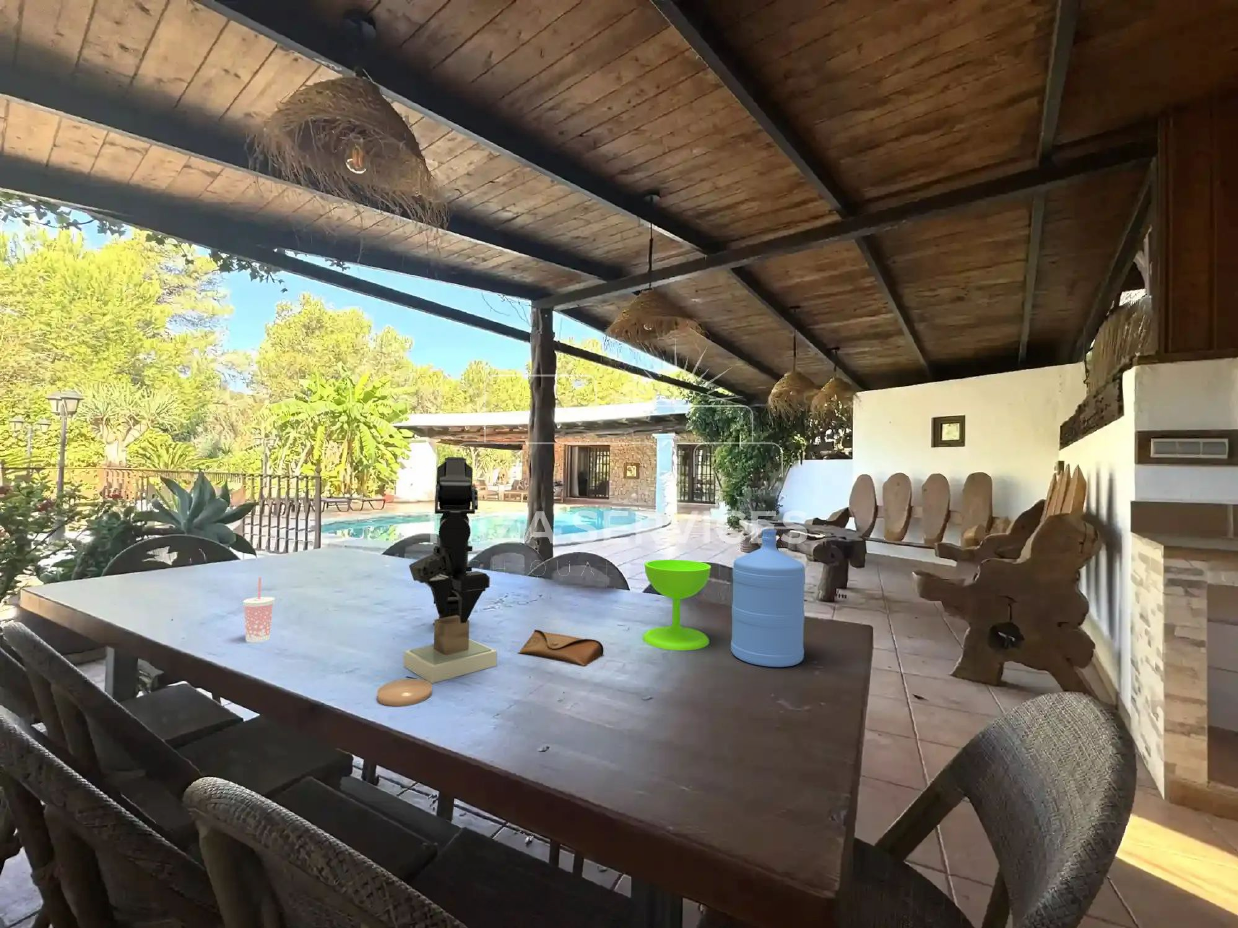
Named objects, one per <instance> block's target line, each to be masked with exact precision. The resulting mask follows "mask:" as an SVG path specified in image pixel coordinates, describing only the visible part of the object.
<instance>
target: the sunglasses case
mask: <svg viewBox="0 0 1238 928" xmlns="http://www.w3.org/2000/svg"><path fill="white" fill-rule="evenodd" d="M516 654H518V655H524V656H532V657H537V658H542V659H546V660H547V659H548V660H551V661H552V660H553V661H558V662H563V663H568V664H572V665H577V666H580V667H588V665H590V664H591V663H593V662H595V661H596V660H598V659H600V658H601V657H603V656H604V645H603V644H602V642H601V641H599V640H598V639H597V640H596V639H592V638H580V637H577V636H570V635H564V634H559V633H551V632H546V631H543V630H540V629H534V631H533V633H532V634H531V636H530V637H529V638H528V640H527V641H526V643H524V645H523V646H522V647H521V649H520V650H519V652H516Z"/></svg>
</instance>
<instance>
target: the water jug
mask: <svg viewBox="0 0 1238 928" xmlns="http://www.w3.org/2000/svg"><path fill="white" fill-rule="evenodd" d="M761 532H762V536H761V546H760V548H758V549H756V550H753V551H751V552H749V553H746V554H744V555H742V556H740V557H736V558H735V560H733V566H732V582H733V583H732V584H733V585H732V588H733V589H732V605H731V616H732V618H731V619H732V620H731V621H732V623H731V624H732V625H731V627H732V628H731V641H730V650H731V652H732V654H733V656H735V657H736V658H738V659H739V660H741V661H743V662H745V663H748V664H751V665H756V666H762V667H770V668H786V667H792V666H795V665H798V664H800V663H801V662H802V661H803V660H804V657H805V656H804V655H805V649H804V623H805V615H806V613H805V585H806V572H805V571H806V567H805V564H804V563H803V562H801V561H799V560H798V559H795V558H794V557H792V556H790V555H788V554H786V553H785V552H783V551H781V550H779V549H778V548H777V532H778V530H776V529H762V530H761Z"/></svg>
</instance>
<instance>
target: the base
mask: <svg viewBox="0 0 1238 928" xmlns="http://www.w3.org/2000/svg"><path fill="white" fill-rule="evenodd" d="M497 656H498V651H497V650H496V649H495V648H494V649H493V648H491V647H490V646H487V645H485V644H482V643H480V642H478V641H475V640H473V639H471V638H469V650H466V651H462V652H458V653H453V654H449V655H444V654H442V653H440V652H438V651H436V650H434V644H430V645H426V646H425V645H424V646H422V647H417V648H411V649H408V650H404V651H403V667H404V668H406V669H408V670H410V671H411V672H412V673H414V674H416V675H417V676H419V677H421V679H423V680H426V681H428V682H430V683H431V684H434V683H437V682H442V681H445V680H448V679H453V678H457V677H460V676H464V675H467V674H472V673H474V672H478V671H482V670H486V669H489V668H493V667H496V666H497V664H498V663H497V661H498V657H497Z"/></svg>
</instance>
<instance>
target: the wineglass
mask: <svg viewBox="0 0 1238 928" xmlns="http://www.w3.org/2000/svg"><path fill="white" fill-rule="evenodd" d="M711 568H712V566H711V565H710V564H708V563H706V562H705V563H704V562H700V561H695V560H684V559H655V560H650V561H646V562H645V563H644V570H645V576H646V578H647V581H648V582H649V584H650V585H651V587H653V589H655V591H656V592H658V593H659V594H660V595H662V596H664V597H667V598H669V599H672V615H671V616H672V618H671V619H672V621H671V622H672V623H671V625H670V626H659V627H655V628H652V629H651V628H650V629H649V630H647V631H646V632H645V633H644V634H643V636H642V640H643V642H645V643H646V644H648V645H649V646H651V647H655V648H658V649H663V650H668V651H669V650H670V651H693V650H694V651H695V650H698V649H703V648H704V647H707V646H708V645H710V640H709V637H708V636H707V635H706V634H705V633H703V632H702V631H699V630H696V629H694V628H689V627H683V626H682V625H681V607H682V606H681V602H682V601H681V600H683V599H686V598H690V597H693V596H695V595H696V594H698V593H699V592H700V591H701V590H702V589H703V588H704V587H705V586H706V585H707V582H708V580H709V577H710V575H711Z"/></svg>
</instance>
